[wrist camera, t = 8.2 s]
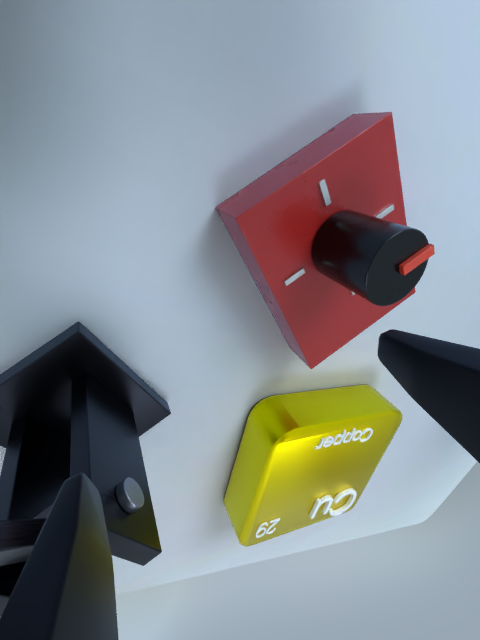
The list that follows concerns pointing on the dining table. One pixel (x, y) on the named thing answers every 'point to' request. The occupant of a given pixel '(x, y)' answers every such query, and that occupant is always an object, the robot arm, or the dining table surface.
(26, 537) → the black lever handle
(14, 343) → the dining table surface
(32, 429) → the lever bracket
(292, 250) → the dial panel
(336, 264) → the knob
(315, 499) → the element tile
